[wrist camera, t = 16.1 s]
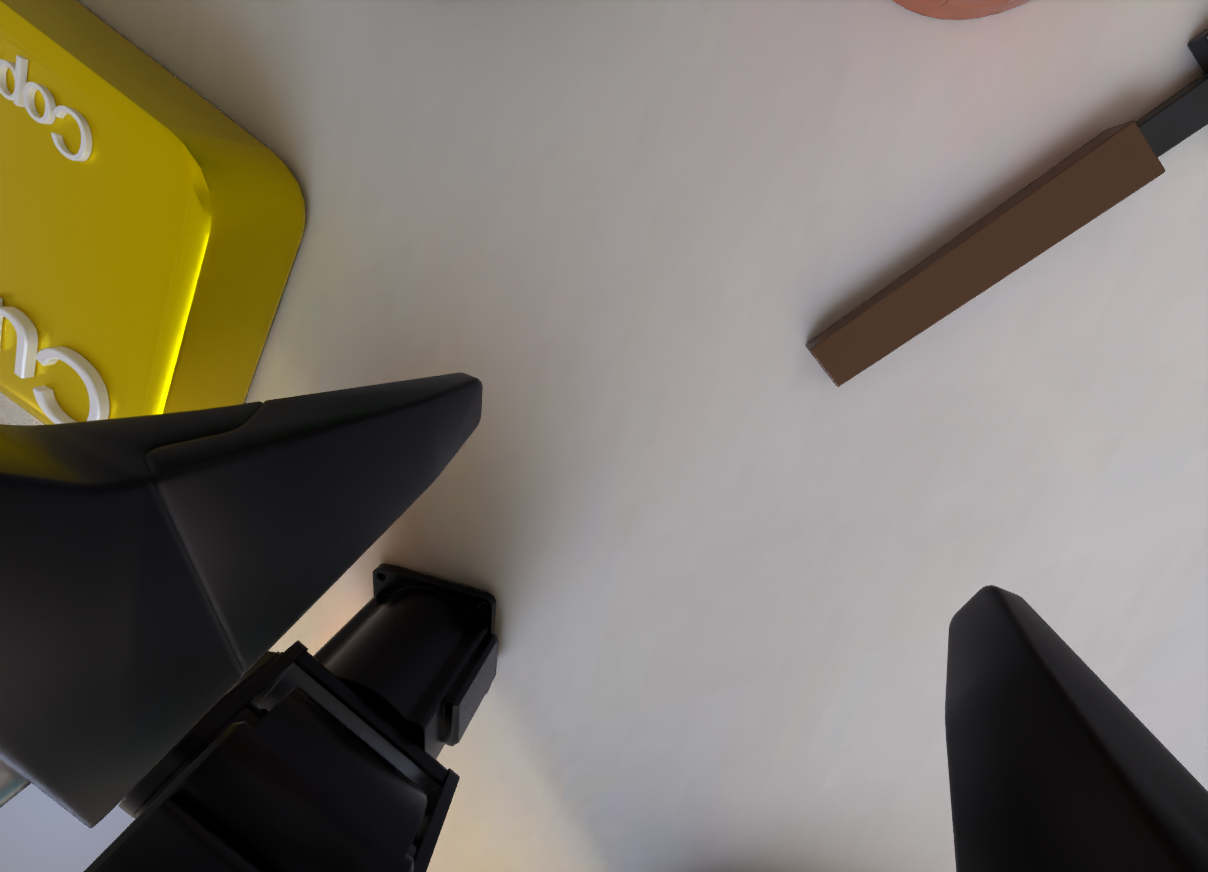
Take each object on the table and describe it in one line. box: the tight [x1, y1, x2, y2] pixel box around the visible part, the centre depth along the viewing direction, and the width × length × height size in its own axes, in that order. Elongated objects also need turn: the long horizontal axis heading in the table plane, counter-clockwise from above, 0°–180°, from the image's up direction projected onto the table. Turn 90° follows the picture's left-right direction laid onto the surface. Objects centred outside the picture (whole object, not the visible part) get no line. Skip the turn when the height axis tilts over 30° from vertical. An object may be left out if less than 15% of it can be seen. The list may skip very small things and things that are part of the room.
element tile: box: [0, 0, 305, 425], centre depth 20 cm, size 15×15×5 cm
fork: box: [806, 28, 1208, 387], centre depth 13 cm, size 17×3×1 cm, turn 131°
